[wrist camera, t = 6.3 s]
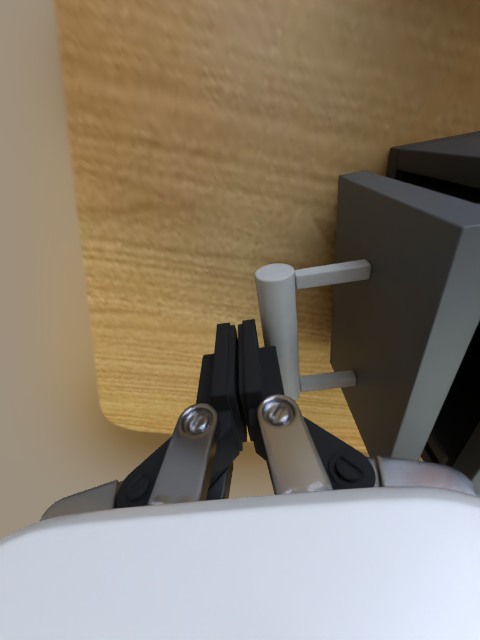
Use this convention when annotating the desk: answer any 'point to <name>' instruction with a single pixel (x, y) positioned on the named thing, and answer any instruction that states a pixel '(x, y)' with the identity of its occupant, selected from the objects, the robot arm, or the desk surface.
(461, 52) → the desk surface
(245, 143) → the desk surface
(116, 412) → the desk surface
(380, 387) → the drawer
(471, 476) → the dark grey cabinet
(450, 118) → the desk surface
